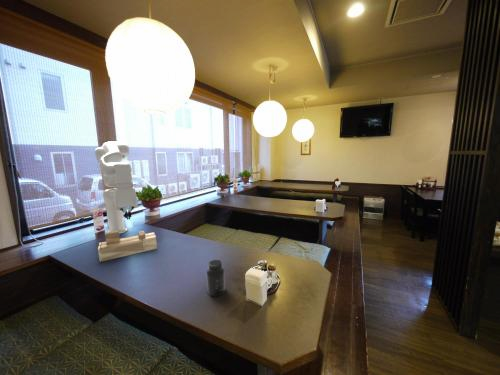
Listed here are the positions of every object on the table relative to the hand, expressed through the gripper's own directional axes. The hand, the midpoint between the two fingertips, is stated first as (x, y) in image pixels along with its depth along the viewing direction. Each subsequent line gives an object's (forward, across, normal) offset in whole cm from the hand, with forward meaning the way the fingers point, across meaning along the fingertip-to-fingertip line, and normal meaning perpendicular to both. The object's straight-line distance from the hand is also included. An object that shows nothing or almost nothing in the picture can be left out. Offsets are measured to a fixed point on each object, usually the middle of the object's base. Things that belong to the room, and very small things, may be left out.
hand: (128, 218), depth 112 cm
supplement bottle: (+20, -26, +58) cm, 67 cm away
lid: (+13, +4, -1) cm, 14 cm away
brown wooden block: (+12, -6, 0) cm, 13 cm away
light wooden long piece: (+19, +1, -1) cm, 19 cm away
